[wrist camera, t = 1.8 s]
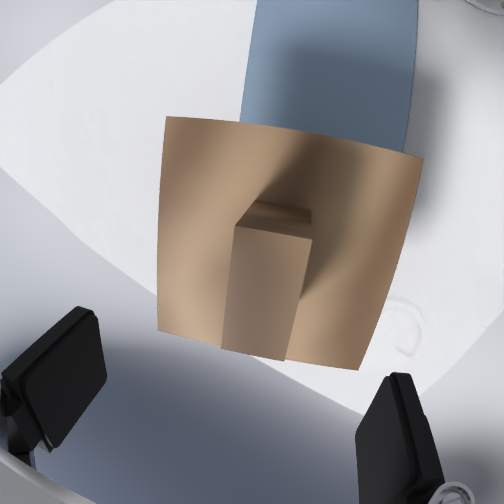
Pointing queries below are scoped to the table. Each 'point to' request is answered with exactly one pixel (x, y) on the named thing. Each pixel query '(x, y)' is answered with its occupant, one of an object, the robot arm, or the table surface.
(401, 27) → the slate mat
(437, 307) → the table surface
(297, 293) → the walnut lid
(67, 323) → the robot arm
